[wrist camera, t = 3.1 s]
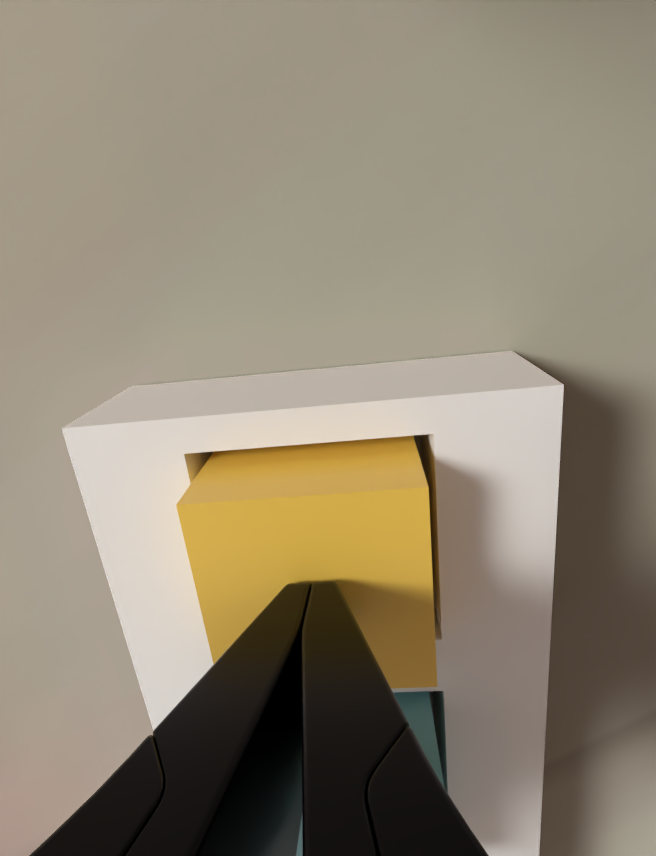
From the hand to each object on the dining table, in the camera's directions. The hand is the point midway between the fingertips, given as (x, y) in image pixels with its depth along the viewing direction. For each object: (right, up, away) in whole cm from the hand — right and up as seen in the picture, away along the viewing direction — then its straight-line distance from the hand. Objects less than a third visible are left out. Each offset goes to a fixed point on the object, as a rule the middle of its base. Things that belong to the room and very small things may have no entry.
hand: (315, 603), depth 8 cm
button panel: (+1, -4, +6) cm, 8 cm away
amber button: (0, +1, +3) cm, 3 cm away
